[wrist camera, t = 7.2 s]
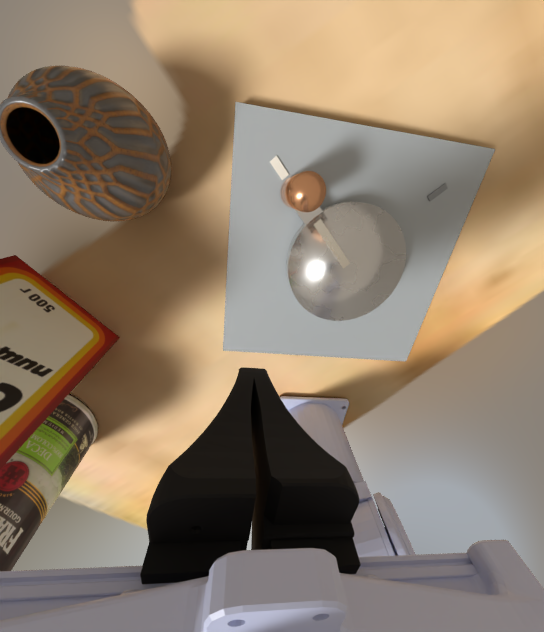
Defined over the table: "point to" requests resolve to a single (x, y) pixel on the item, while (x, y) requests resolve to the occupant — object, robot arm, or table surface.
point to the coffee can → (41, 474)
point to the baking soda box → (40, 351)
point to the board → (341, 186)
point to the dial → (340, 252)
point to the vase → (86, 143)
